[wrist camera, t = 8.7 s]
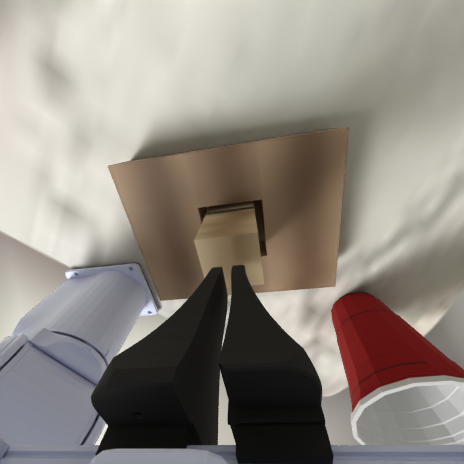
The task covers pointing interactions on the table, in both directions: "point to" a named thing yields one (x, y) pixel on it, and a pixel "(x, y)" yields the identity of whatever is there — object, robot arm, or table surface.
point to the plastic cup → (396, 378)
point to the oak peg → (230, 241)
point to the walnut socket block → (234, 191)
